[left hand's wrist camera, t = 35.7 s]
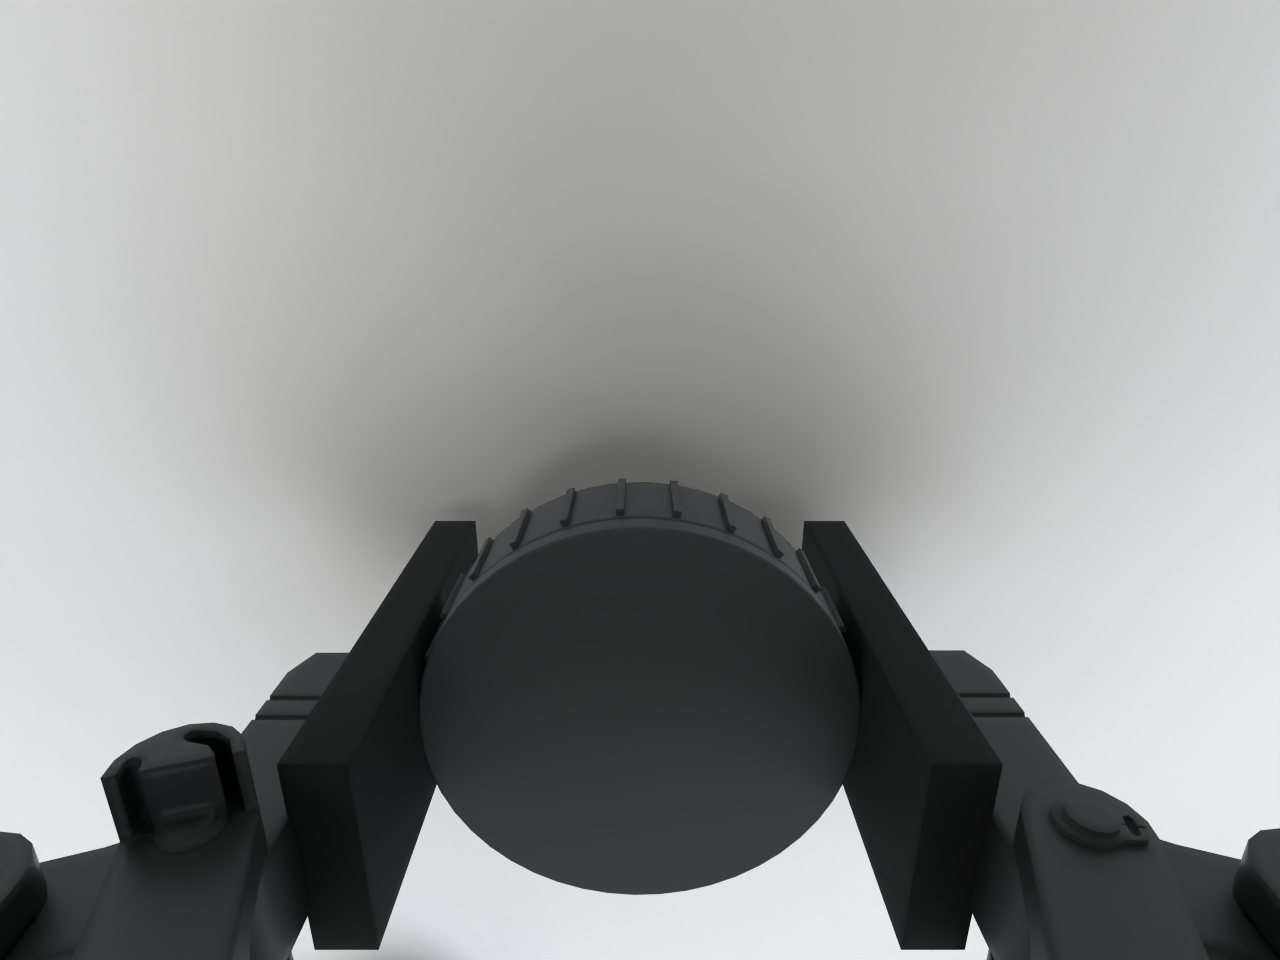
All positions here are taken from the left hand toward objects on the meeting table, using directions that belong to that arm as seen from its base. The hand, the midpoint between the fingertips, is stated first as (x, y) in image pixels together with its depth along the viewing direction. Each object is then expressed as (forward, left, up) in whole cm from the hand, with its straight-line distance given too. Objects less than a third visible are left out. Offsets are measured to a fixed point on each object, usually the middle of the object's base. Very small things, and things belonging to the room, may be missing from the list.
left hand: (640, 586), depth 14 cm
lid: (0, 0, +4) cm, 4 cm away
